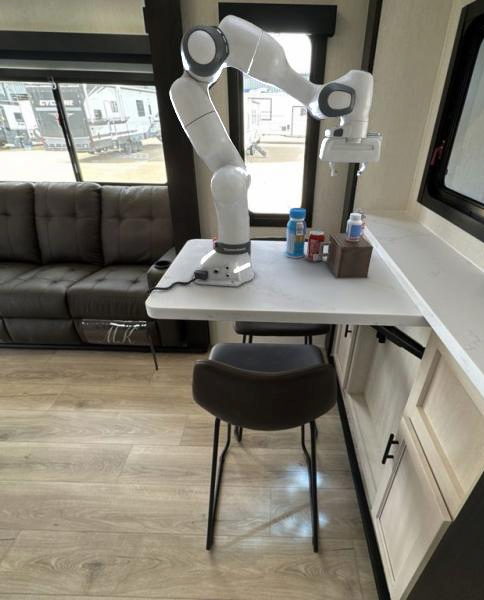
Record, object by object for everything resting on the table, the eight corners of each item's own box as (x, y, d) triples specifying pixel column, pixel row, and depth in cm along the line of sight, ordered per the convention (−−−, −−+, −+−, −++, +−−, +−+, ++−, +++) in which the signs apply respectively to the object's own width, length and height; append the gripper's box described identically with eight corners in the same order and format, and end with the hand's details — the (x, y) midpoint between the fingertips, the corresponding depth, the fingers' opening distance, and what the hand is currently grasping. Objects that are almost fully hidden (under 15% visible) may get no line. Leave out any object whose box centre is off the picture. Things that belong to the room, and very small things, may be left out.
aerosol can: (356, 256, 136) (364, 211, 126) (342, 253, 139) (349, 209, 129) (361, 252, 141) (369, 208, 131) (347, 249, 144) (354, 206, 134)
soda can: (323, 262, 129) (326, 235, 123) (307, 262, 129) (309, 234, 123) (321, 256, 135) (324, 230, 129) (305, 256, 135) (308, 229, 128)
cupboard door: (326, 278, 116) (330, 247, 110) (317, 261, 129) (320, 233, 123) (338, 277, 116) (343, 247, 110) (328, 261, 130) (331, 233, 124)
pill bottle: (361, 240, 117) (366, 214, 112) (354, 243, 114) (358, 217, 109) (349, 236, 121) (353, 211, 116) (342, 239, 117) (345, 213, 112)
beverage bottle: (282, 256, 134) (284, 210, 123) (288, 250, 140) (291, 206, 130) (300, 259, 131) (304, 213, 121) (306, 253, 138) (310, 208, 128)
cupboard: (339, 278, 116) (344, 246, 110) (328, 261, 130) (332, 233, 124) (366, 277, 118) (373, 246, 111) (353, 261, 131) (358, 233, 125)
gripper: (379, 132, 104) (371, 175, 111) (321, 130, 102) (316, 174, 109) (387, 132, 99) (378, 178, 105) (325, 130, 97) (320, 177, 104)
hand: (346, 176), depth 107 cm, fingers open, 8 cm apart
